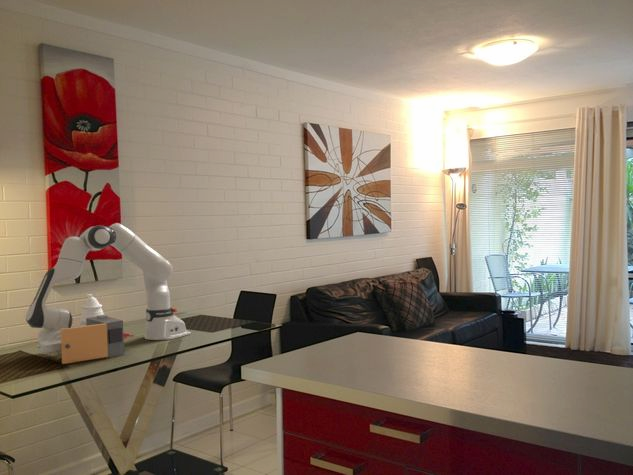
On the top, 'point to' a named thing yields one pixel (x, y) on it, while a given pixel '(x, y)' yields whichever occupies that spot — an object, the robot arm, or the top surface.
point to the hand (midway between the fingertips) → (73, 346)
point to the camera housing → (111, 333)
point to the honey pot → (90, 309)
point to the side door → (84, 343)
